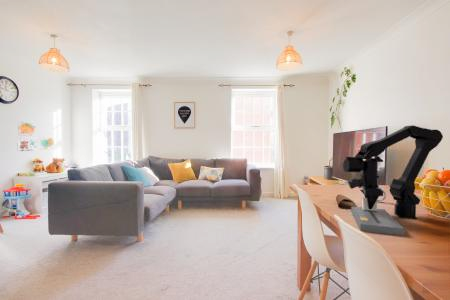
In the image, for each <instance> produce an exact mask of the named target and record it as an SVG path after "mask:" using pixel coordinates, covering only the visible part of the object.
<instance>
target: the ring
mask: <svg viewBox="0 0 450 300" xmlns="http://www.w3.org/2000/svg"><path fill="white" fill-rule="evenodd" d="M379 188H380V189H381V190H382V191H383V198H382V199H377V203H380V202H383V201H385V200H386V198H387V194H386V191H385V190H384V189H382V187H380V186H379Z"/></svg>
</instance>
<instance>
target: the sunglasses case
mask: <svg viewBox="0 0 450 300" xmlns="http://www.w3.org/2000/svg"><path fill="white" fill-rule="evenodd" d="M335 200H336V202H337V207H338V209H345V210H351V207H356V205H355V204H354V201H353V200H352V199H351V198H349V197H347V196H346V195H343V194H337V195H336V197H335Z"/></svg>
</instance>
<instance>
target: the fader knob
mask: <svg viewBox="0 0 450 300" xmlns="http://www.w3.org/2000/svg"><path fill="white" fill-rule="evenodd" d="M361 201H362V202H361V205H362V206H361V207H362V209H363V210H372V211H377V209H378V202H377V201H376V202H375V204H374V206H373V208H372V209H369V208H368V203H367V198H365V197H362V199H361Z"/></svg>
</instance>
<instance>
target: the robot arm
mask: <svg viewBox="0 0 450 300" xmlns="http://www.w3.org/2000/svg"><path fill="white" fill-rule="evenodd" d="M407 138H412V139H414V143H415V149H414V151H413V153H412V155H411V157H410V158H409V159H408V163H407V165H406V166H405V168H404V170H403V171H402V174H401V176H400V177H399V178H398V179H397V178H393V179H392V181H391V183H390V185H389V186H388V187H390V188H389V193H390V195H391V196H392V198H393V200H394V201H395V203H394V208H393V209H394V214H395V215H396V216H397V217H398V218H404V219H414V220H416V219H418V217H417V215H416V214H417V205H419V204H420V202H421V199H420V198H419V197H418V196H417V195H416V194H415V191H416V184H415V181H416V180H417V178H418V175H419V174H420V172H421V169H422V167H423V165H424V164H425V161H427V160H426V159H427V158H428V155H430V152H432V150H434V149H435V148H437V147H438V146H439V145H440V143H441V141H442V140H443V138H444V135H443V133H442V132H441V131H440V129H429V128H424V127H420V126H416V125H405V126H403V127H401V128H400V129H397V130H396V131H394V132H392V133H390V134H388V135H386V136H384V137H382V138H380V139H377V140H373V141H368V142H366V143H365V142H364V143H363V144H362V145H360V149H359V151H358V152H357V153H356V154H355V156H345V159H344V161H343V163H342V168H343V171H344V172H345V173H361V174H360V176H359V177H354V178H351V179H348V180H347V184H348V186H349V188H350V189H351V190H352V189H355V188H358V189H359V190H360V192H361V193H362V194H363V196H364V198H367V203H368V208H369V209H372V208H373V206H374V204H375V202H376V201H377V200H379V197H384V193H383V191H382V190H383V189H382V188H381V187H380V186H379V183H378V180H379V178H380V176H379V174H378V173H379V171H378V169H379V167H378V166H379V163H383V162H384V160H383V159H382V158H381V157H380V156H379V155H381V154H382V153H384V152H385V150H386V149H387V148H389V147H391V146H393V145H396V144H397V143H399V142H401V141H404V140H405V139H407ZM379 187H380V188H381V189H382V190H381V189H380V188H379Z"/></svg>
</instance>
